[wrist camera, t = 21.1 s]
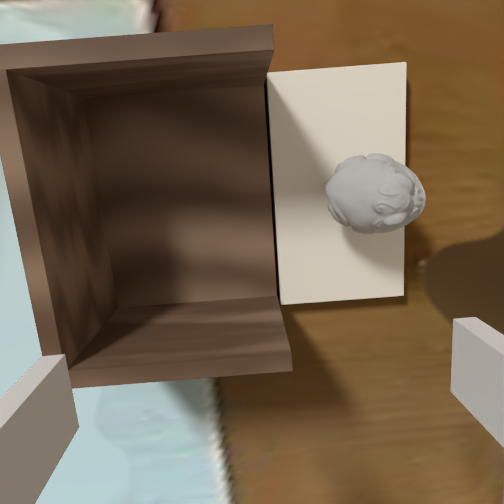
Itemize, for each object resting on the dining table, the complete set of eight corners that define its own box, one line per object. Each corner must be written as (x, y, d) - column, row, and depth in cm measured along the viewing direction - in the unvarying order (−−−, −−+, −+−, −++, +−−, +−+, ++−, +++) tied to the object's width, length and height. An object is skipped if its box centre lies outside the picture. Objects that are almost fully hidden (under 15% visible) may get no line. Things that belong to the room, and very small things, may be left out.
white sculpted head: (388, 232, 35) (422, 250, 28) (308, 219, 35) (324, 234, 28) (405, 160, 34) (446, 161, 27) (323, 146, 33) (343, 143, 27)
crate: (276, 302, 38) (292, 370, 26) (111, 315, 38) (49, 390, 26) (261, 72, 33) (273, 24, 21) (74, 86, 33) (-23, 46, 21)
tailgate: (279, 299, 38) (397, 290, 38) (280, 304, 36) (403, 295, 36) (265, 76, 33) (399, 66, 33) (266, 72, 32) (406, 62, 32)
